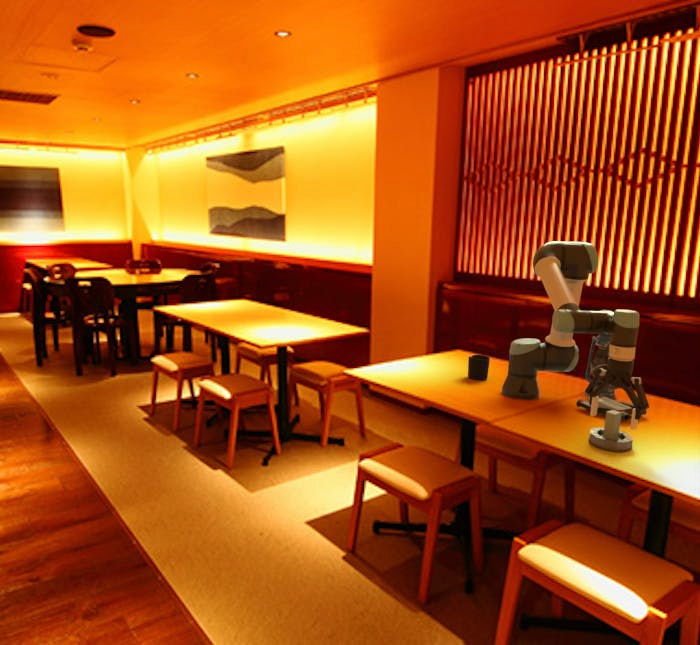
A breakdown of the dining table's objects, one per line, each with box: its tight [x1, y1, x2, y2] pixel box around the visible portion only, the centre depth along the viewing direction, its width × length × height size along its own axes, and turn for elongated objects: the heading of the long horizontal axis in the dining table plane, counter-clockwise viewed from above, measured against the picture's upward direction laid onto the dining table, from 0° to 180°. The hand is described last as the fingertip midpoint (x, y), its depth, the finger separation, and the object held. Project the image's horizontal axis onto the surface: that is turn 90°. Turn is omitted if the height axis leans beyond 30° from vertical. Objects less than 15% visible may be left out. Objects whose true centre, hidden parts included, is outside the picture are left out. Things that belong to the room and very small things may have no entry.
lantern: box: [584, 334, 619, 400], centre depth 234 cm, size 15×12×30 cm
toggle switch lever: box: [600, 410, 622, 440], centre depth 182 cm, size 7×7×10 cm
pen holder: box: [467, 354, 491, 382], centre depth 255 cm, size 9×9×10 cm
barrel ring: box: [588, 427, 634, 453], centre depth 183 cm, size 13×13×3 cm
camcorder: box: [575, 396, 647, 423], centre depth 214 cm, size 16×20×5 cm
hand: (612, 421), depth 182 cm, fingers open, 13 cm apart
